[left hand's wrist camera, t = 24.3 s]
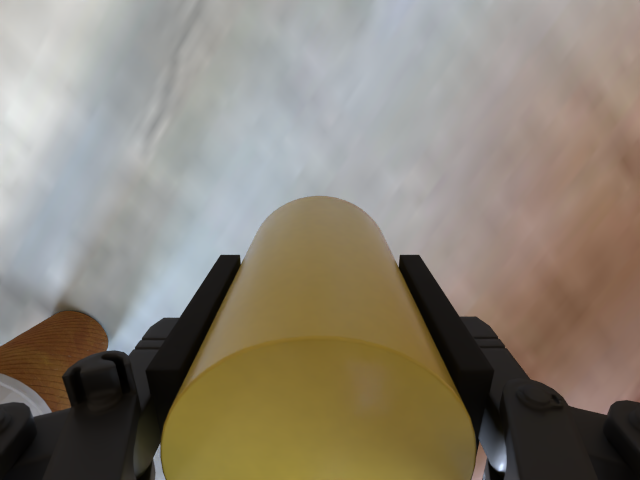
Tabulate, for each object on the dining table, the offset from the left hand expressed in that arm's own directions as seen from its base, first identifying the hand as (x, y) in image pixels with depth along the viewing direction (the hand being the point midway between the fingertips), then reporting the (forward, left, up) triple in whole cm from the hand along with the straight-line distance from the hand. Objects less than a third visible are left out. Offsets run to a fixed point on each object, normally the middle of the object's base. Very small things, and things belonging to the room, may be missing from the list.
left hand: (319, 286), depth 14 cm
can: (0, 0, -2) cm, 2 cm away
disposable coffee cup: (-20, +21, -18) cm, 34 cm away
